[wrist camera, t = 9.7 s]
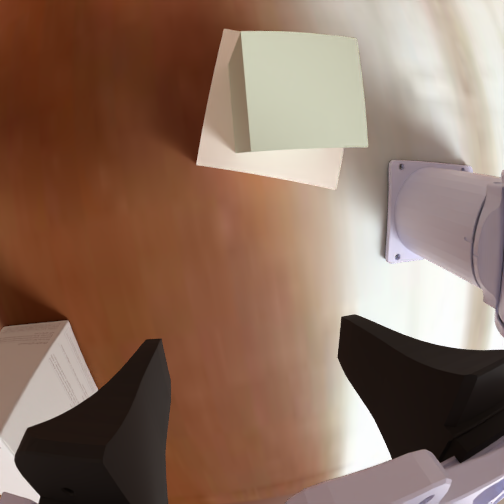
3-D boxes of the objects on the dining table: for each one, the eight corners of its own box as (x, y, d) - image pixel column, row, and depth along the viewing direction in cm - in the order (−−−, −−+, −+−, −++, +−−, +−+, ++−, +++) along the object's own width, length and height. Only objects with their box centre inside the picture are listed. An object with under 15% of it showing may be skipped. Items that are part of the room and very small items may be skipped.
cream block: (331, 77, 20) (357, 64, 16) (312, 184, 22) (336, 190, 18) (219, 50, 18) (224, 28, 14) (196, 163, 20) (196, 164, 16)
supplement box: (2, 324, 20) (-75, 417, 8) (70, 317, 21) (-1, 435, 9) (34, 392, 22) (-12, 493, 10) (100, 391, 23) (68, 513, 11)
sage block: (316, 64, 16) (356, 38, 11) (324, 148, 17) (368, 147, 12) (228, 64, 15) (240, 31, 10) (235, 153, 16) (250, 151, 12)
